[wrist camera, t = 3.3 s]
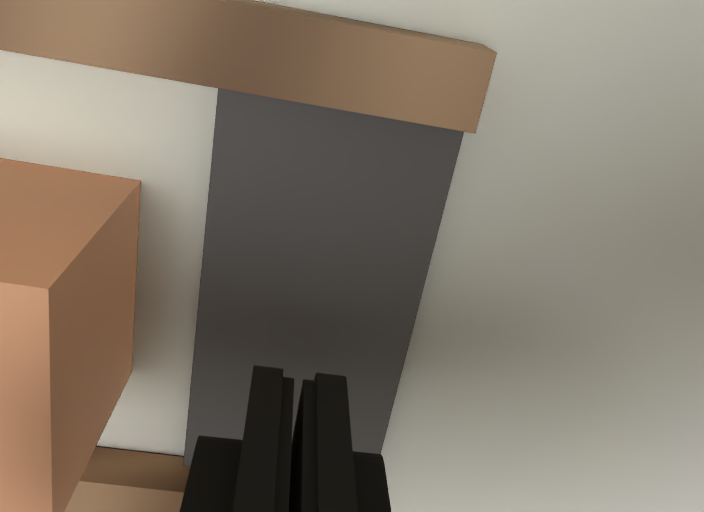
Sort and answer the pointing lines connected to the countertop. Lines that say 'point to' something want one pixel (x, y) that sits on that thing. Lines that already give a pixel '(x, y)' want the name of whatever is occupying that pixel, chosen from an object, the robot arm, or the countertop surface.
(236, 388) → the channel
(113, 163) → the countertop surface
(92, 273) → the block
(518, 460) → the countertop surface
